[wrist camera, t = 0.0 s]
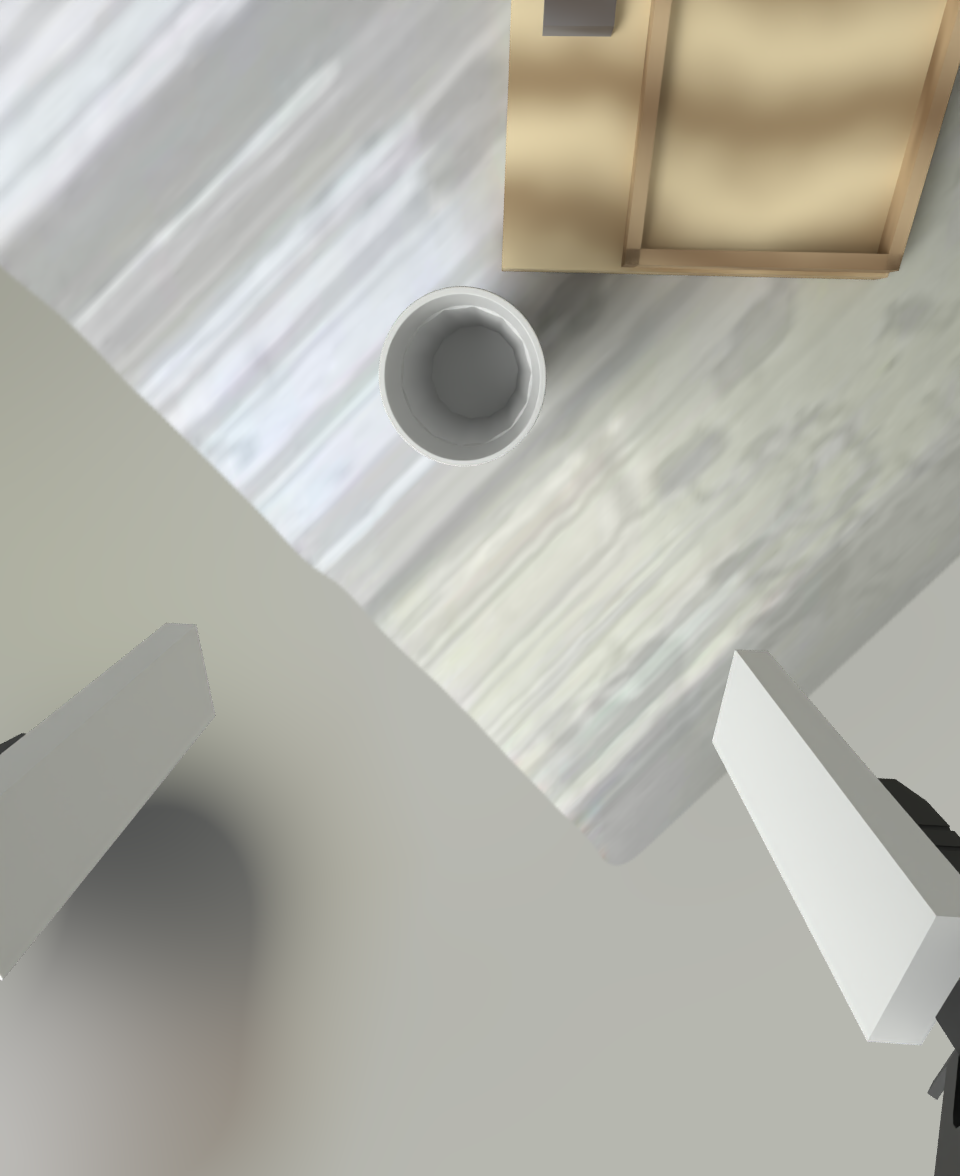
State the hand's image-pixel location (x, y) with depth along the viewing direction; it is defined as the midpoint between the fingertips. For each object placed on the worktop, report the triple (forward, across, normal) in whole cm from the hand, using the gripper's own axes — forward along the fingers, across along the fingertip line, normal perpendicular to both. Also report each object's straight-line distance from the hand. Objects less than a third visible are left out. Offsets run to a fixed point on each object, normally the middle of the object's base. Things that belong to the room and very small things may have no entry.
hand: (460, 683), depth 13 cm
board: (+28, +12, +20) cm, 36 cm away
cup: (+28, -1, +6) cm, 29 cm away
